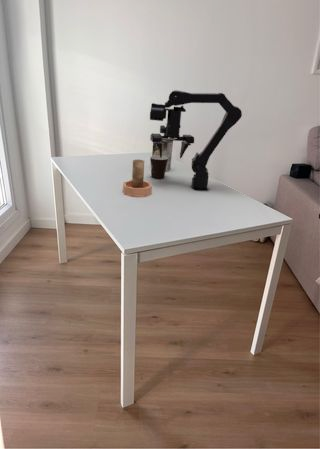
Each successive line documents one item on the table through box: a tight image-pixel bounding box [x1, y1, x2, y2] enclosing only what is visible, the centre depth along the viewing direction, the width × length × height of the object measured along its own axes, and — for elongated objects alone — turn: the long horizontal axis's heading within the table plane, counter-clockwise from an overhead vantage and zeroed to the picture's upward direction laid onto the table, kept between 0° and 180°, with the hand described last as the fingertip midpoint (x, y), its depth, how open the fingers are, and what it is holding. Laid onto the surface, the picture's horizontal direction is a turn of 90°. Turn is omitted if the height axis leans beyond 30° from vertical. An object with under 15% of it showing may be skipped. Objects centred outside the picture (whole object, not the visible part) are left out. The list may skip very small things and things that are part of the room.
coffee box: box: [151, 140, 174, 173], centre depth 171 cm, size 9×6×16 cm
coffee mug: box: [149, 155, 168, 180], centre depth 160 cm, size 12×9×10 cm
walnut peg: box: [131, 159, 145, 188], centre depth 136 cm, size 5×5×13 cm
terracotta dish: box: [122, 179, 153, 198], centre depth 138 cm, size 12×12×4 cm
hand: (170, 157), depth 144 cm, fingers open, 9 cm apart
